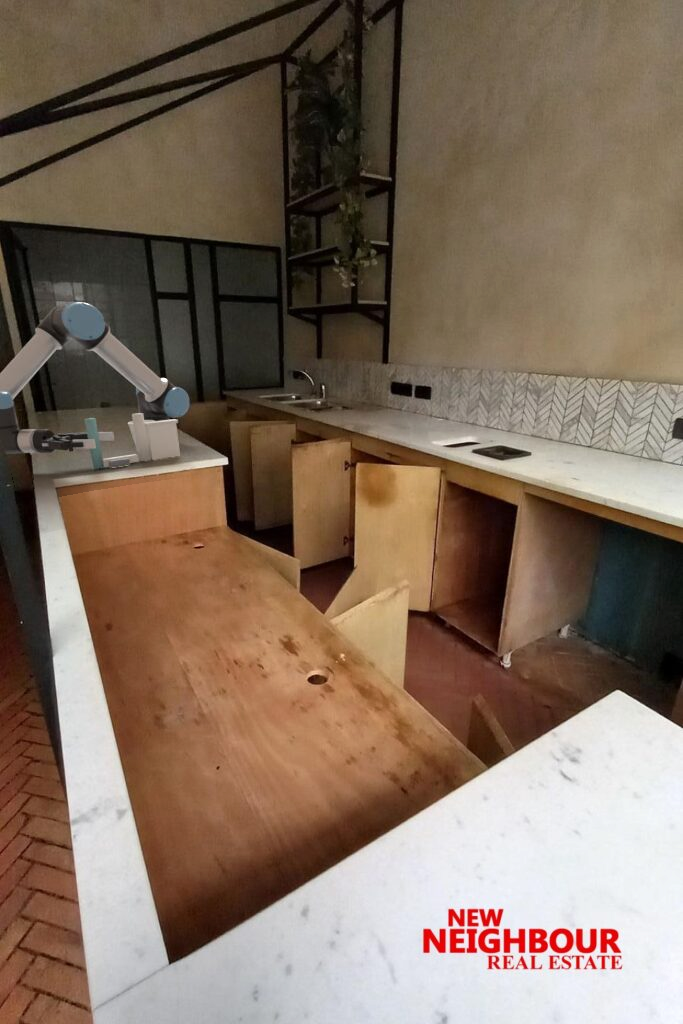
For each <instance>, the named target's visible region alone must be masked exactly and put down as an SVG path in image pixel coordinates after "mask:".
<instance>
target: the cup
mask: <svg viewBox="0 0 683 1024" xmlns="http://www.w3.org/2000/svg"><path fill="white" fill-rule="evenodd" d="M145 422H154V420H144V423H145ZM127 425H128V427H129V430H130V433H131V435H132V439H133V441H134V445H135V449H137V445H136V439H135V432H134V426H133V420H132V421H129V422H127ZM145 430H146V426H145ZM146 436H147V431H146ZM147 443H148V438H147ZM148 450H149V445H148Z"/></svg>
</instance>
